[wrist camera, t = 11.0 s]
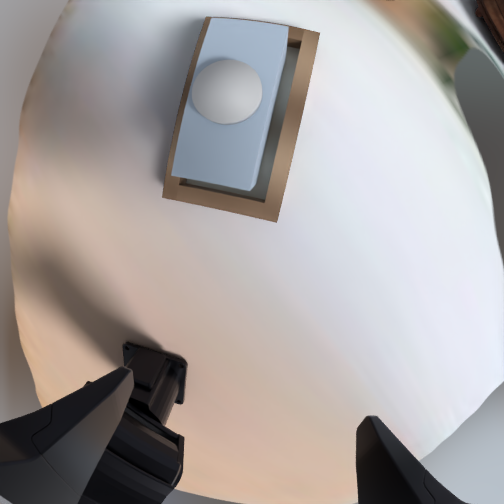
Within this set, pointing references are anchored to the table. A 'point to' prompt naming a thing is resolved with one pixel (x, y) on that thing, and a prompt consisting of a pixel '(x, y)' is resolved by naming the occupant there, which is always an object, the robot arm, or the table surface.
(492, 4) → the scroll
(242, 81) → the key block
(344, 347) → the table surface
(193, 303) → the table surface
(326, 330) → the table surface
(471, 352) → the table surface
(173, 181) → the tan picture frame
